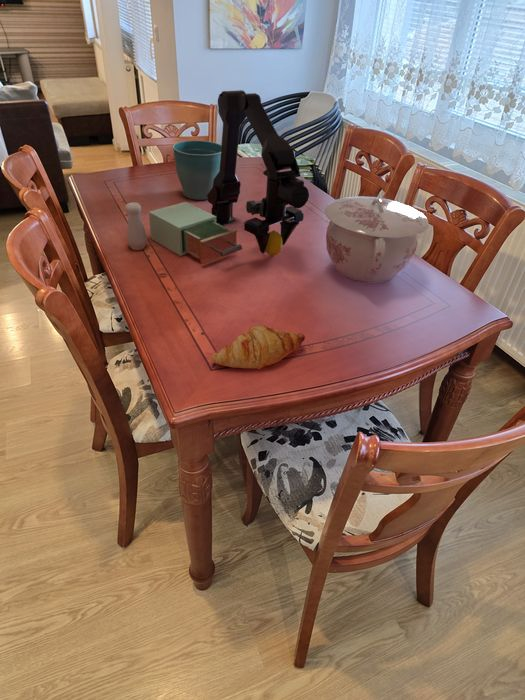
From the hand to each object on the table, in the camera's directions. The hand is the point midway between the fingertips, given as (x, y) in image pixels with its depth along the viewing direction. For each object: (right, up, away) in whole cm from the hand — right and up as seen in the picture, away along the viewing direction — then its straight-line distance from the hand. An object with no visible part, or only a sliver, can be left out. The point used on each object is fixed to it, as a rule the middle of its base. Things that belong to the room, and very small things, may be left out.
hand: (272, 248), depth 136 cm
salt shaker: (-40, 0, +1) cm, 40 cm away
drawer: (-18, -2, -1) cm, 18 cm away
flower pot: (-26, +28, +38) cm, 54 cm away
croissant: (-4, -31, -36) cm, 47 cm away
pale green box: (-27, +4, +6) cm, 28 cm away
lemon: (0, -2, +2) cm, 3 cm away
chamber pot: (+26, -7, -2) cm, 27 cm away
